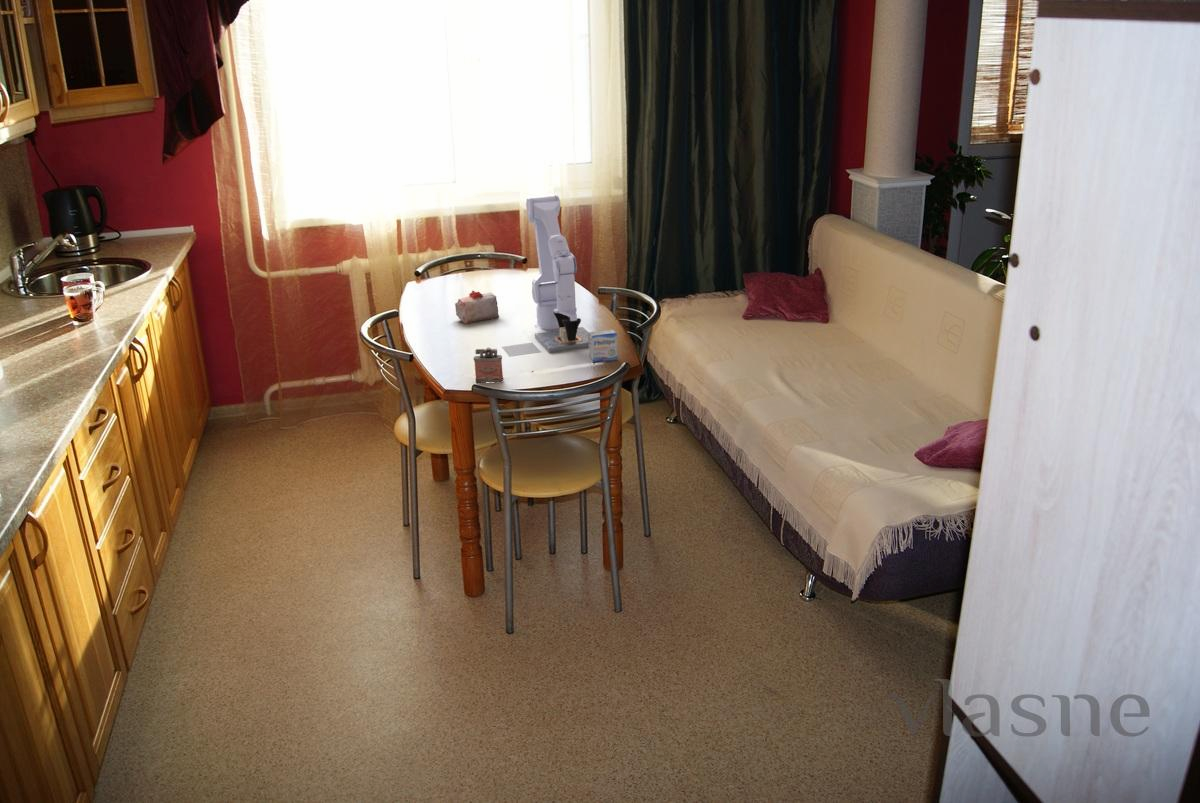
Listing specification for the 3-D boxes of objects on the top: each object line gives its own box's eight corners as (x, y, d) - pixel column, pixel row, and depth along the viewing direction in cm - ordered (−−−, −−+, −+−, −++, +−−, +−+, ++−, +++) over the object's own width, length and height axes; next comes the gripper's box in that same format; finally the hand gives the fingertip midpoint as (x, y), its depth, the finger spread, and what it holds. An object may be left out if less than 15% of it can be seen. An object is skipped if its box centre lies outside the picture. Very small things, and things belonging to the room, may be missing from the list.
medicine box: (592, 363, 302) (591, 335, 298) (588, 359, 306) (587, 331, 302) (618, 360, 304) (617, 332, 300) (613, 355, 308) (612, 328, 304)
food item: (463, 325, 342) (461, 297, 338) (455, 320, 348) (452, 292, 345) (500, 318, 348) (498, 291, 344) (491, 313, 354) (489, 286, 351)
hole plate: (535, 340, 323) (534, 333, 323) (582, 334, 328) (582, 326, 327) (549, 356, 309) (548, 347, 308) (598, 348, 314) (598, 340, 313)
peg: (560, 345, 318) (559, 327, 316) (572, 344, 319) (571, 326, 317) (564, 349, 315) (563, 331, 312) (576, 347, 316) (575, 329, 314)
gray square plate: (501, 349, 316) (501, 346, 316) (532, 345, 319) (532, 342, 319) (509, 359, 308) (509, 356, 307) (541, 354, 311) (541, 351, 310)
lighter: (504, 378, 292) (501, 345, 289) (503, 382, 289) (500, 349, 285) (476, 380, 292) (473, 347, 288) (475, 384, 289) (472, 351, 285)
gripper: (546, 290, 316) (549, 332, 321) (560, 302, 303) (562, 345, 308) (568, 287, 318) (570, 329, 323) (582, 299, 305) (584, 342, 310)
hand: (568, 336), depth 316 cm, fingers open, 7 cm apart
